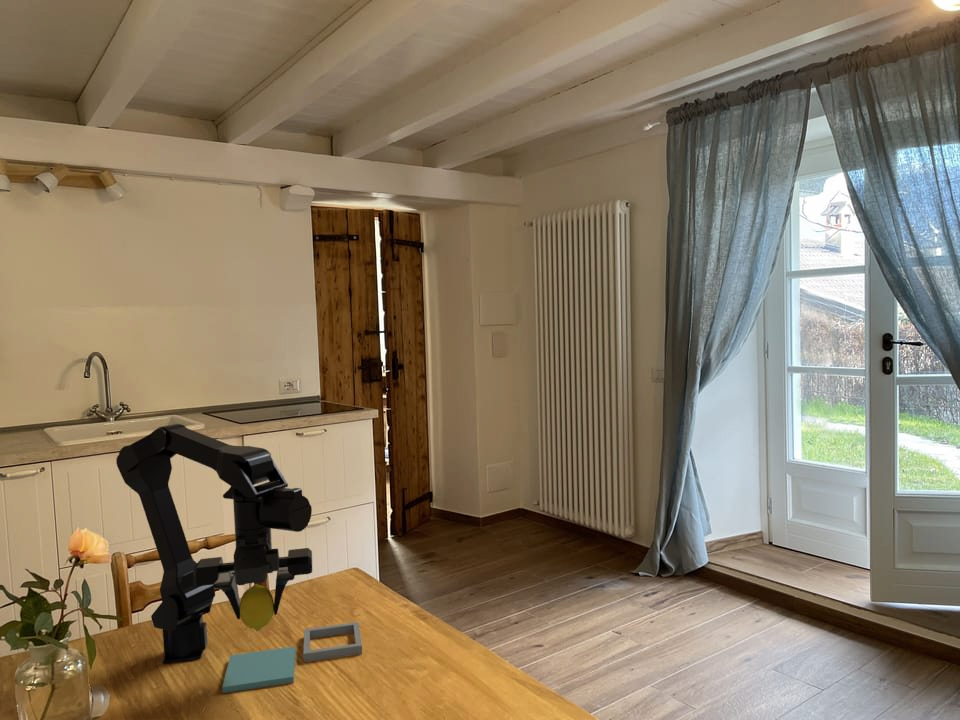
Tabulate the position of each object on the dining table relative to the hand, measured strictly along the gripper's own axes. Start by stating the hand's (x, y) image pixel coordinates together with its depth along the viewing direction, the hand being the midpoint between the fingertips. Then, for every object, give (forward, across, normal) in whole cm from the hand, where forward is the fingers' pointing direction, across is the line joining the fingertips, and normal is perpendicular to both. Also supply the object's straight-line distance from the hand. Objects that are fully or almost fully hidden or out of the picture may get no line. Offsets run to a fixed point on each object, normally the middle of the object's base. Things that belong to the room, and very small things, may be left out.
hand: (257, 616), depth 117 cm
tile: (+10, 0, 0) cm, 10 cm away
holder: (+10, +12, +6) cm, 17 cm away
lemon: (+3, 0, 0) cm, 3 cm away
